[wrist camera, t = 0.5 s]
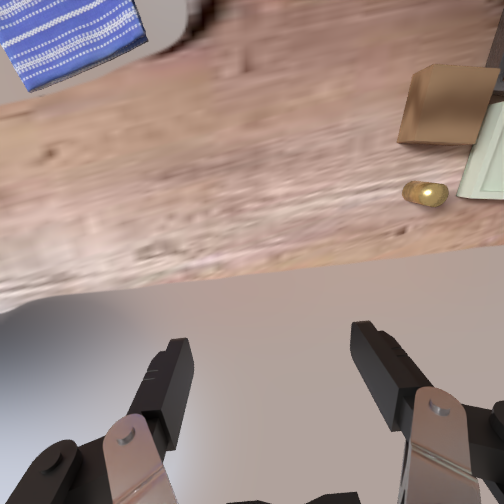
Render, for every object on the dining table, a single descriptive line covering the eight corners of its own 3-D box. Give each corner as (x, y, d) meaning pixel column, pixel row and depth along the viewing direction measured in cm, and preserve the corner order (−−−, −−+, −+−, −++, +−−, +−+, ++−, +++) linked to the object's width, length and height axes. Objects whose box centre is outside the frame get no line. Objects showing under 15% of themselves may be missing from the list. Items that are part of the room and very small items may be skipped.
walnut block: (411, 75, 31) (434, 63, 27) (470, 79, 32) (500, 68, 28) (395, 142, 34) (413, 140, 30) (449, 145, 34) (474, 144, 31)
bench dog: (405, 180, 36) (429, 183, 31) (424, 181, 36) (451, 184, 31) (399, 200, 37) (422, 206, 32) (419, 201, 37) (444, 207, 32)
